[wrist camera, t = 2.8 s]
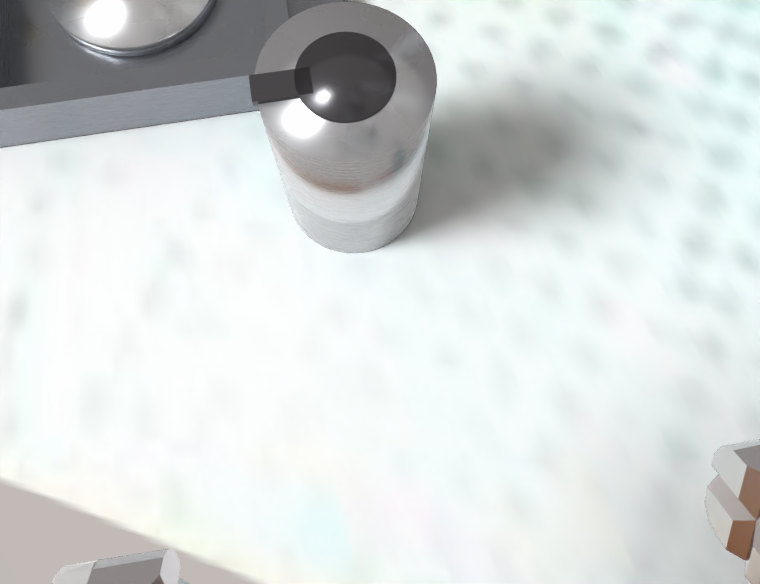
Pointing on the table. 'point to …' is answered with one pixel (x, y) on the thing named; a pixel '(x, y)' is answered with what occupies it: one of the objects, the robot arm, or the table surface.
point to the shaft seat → (128, 62)
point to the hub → (347, 120)
